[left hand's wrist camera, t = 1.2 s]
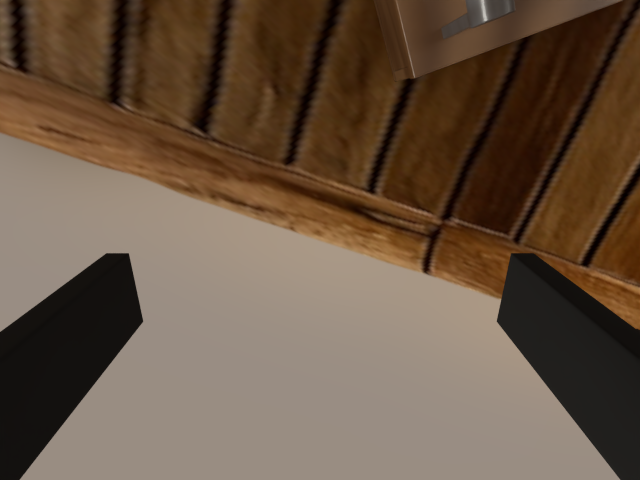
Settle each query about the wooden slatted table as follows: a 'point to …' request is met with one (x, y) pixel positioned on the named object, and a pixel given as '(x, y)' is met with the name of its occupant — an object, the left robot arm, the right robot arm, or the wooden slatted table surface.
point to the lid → (475, 26)
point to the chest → (392, 39)
